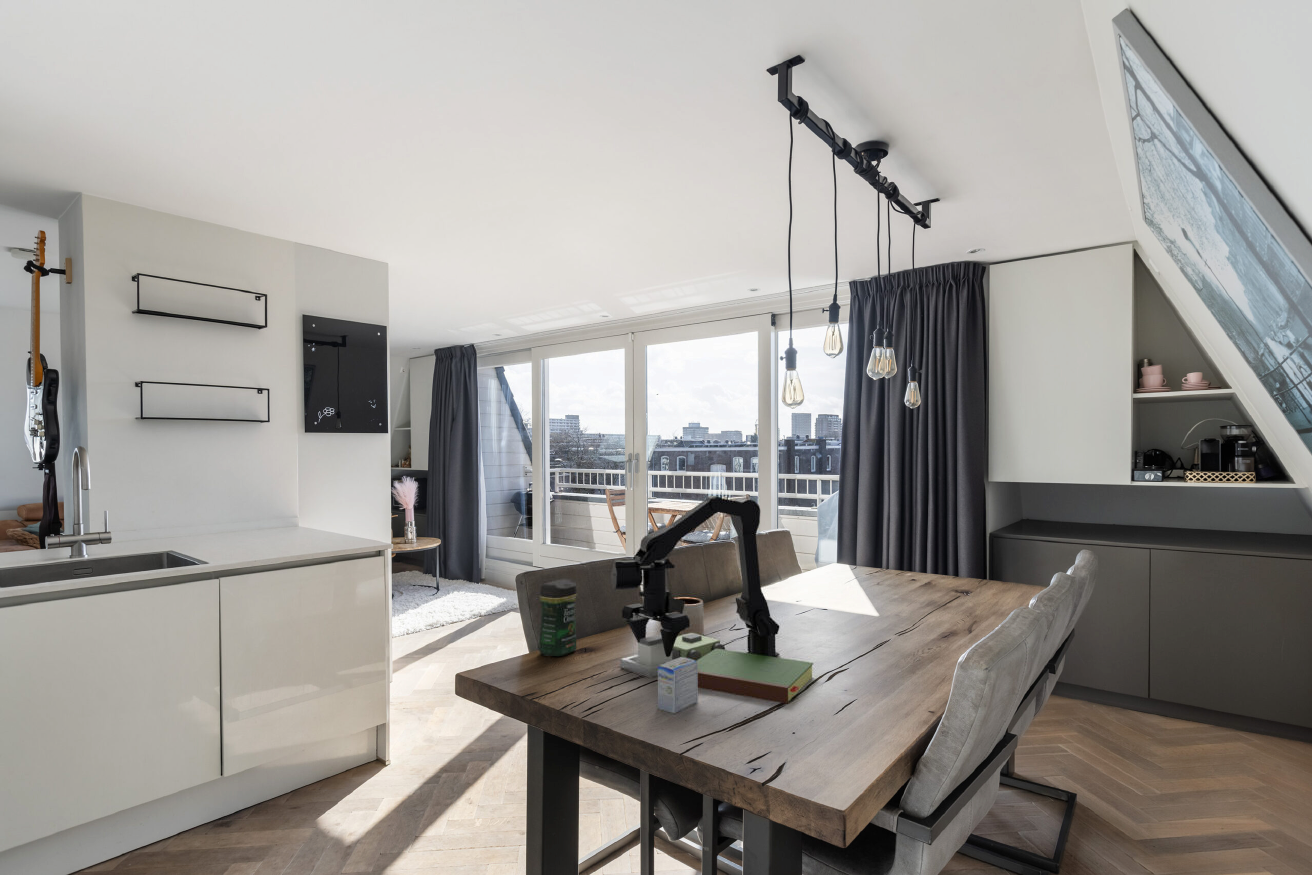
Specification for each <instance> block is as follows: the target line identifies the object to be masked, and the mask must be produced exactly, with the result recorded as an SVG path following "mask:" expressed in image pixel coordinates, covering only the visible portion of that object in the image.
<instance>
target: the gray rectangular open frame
mask: <svg viewBox="0 0 1312 875" xmlns="http://www.w3.org/2000/svg"><path fill="white" fill-rule="evenodd" d="M668 662H669V661H668ZM665 663H667V662H665ZM662 664H664V663H661V664H658V665H654V666H651V667H649V666H646V665H643V664H641V663H638V654H635V655H631V656H628V657H623V658H620V668H621V669H624V670H626V671H629V672H632V673H634V674H637V675H640V676H643V677H646V678H648V679H651V678H654V677H658V666H660V665H662Z"/></svg>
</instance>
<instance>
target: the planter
mask: <svg viewBox="0 0 1312 875" xmlns="http://www.w3.org/2000/svg"><path fill="white" fill-rule="evenodd" d="M674 598H675V599H679V600H682V601H685V605H684V609H683V614H685V615H687V616H688V617H689V618H690V627H688V628H686V629H685V630H683V631H681V632H680V633H679V634H678V636H681V635H682V634H689V633H695V634H698V635H702V636H704V632H705V625H704V623H705V622H704V601H703V599H701V598H698V597H697V598H696V597H689V596H683V597H682V596H681V597H680V596H679V597H674ZM673 613H679V612H673ZM673 613H666V615H669V614H673ZM678 636H677V637H678Z"/></svg>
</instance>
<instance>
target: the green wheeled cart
mask: <svg viewBox="0 0 1312 875" xmlns="http://www.w3.org/2000/svg"><path fill="white" fill-rule="evenodd" d="M715 649H723V650H726V646H725V645H724V644H721V640H720V639H717V638H712V637H709V636H705V635H698V634H695V633H689V634H682V635H681V636H678V637H677V638H676V641H675V644H674V647H673V650H672V660H674V659H677V658H680V657H684V658H688V659H692V660H695V661H697V660H698V659H700V658H702V657H703V656H705V655H706V654H708V653H710V652H711V651H713V650H715Z"/></svg>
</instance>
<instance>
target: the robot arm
mask: <svg viewBox="0 0 1312 875" xmlns="http://www.w3.org/2000/svg"><path fill="white" fill-rule="evenodd" d="M717 513H721V514H724V515H725V514H726V515H728V516H729V515H730V520H731V523H732V525H733V528H734V531H735V532H736V535H737V542H738V552H739V562H740V573H741V583H742V592H741V595H740V597H737V596H736V597H735V602H736V612H735V613H736V614H738V616H739V619H740V620H741V621H742V622H744V624H745V627H746V629H748V630H747V631H748V632H747V633H748V634H747V635H746V636H747V640H746V641H747V652H745V653H750V654H757V655H764V656H770V657H779V656H780V653H779V652H777V651H776V650H777V649H776V635H778V634H779V630H780V625H779V624H778V623H777V622H776V621H775V620H774V619H773V618H772V617H771V613H770V608H769V604H768V602H767V600H766V597H765V595H764V592H763V590H762V584H761V573H760V563H759V552H758V541H757V532H758V529H759V527H760V524H761V523H760V522H761V508H760V505H759V504H758V503H757V502H756V501H755V500H752V499H745V498H736V499H734V500H731V499H728V498H722V497H720V496H715V495H708V496H707V497H706V498H705V499H704V500H703V501H702V502H700V503H699V504H697V505H696V506H694V507H693V508H691V509H690V510H689V511H688V512H686V513H685V514H683V515H682V516H681V517H679V518H678V519H676V520H675V521H673V522H672V523H671V524H669V525H668V526H665V527H663V528H660V529H657V530H654V531H652V532H650V533H648V534H647V535H645V536H643V537H642V538H641V540H640V546H639V547H640V548H639V549H638V550H637V552H636V553H635V555H634V556H633V558H631V560H619V559H618V560H613V566H612V570H611V573H610V580H611V581H610V582H611V587H612V589H613V590H614V591H618V590H619V591H620V590H632V589H633V590H635V589H638V587H639V586H641V585H642V590H641V591H639V593H638V595H639V597H642V603H639V602H638V603H633V604H628V605H627V604H626V605H624V607H623V608H622V609H621V610H622V611H621V612H622V613H621V618H622V619H625V622H626V623H627V624H628V626H629V628H630V630H631V632H632V634H633V635H634V637H635V640H636V642H637V644H638V643H639V642H640V639H642V638H646V637H647V625H648V623H649V622H650V620H651V621H656V622H660V626H661V629H660V630H659V631H660V634H661V637H662V641H663V646H664V651H665V655H666V657H669V656H670V655H671V653H672V650H673V647H674V644H675V641H676V638H677V636H678V634H679V633H680V632H681V631H683V630H685V629H686V628H688V627H690V618H689V617H688V616H687V615H685V614H683V609H684V605H685V601H682V600H679V599H675V598H676V597H672V593H671V591H670V590H668V589H667V570H669V569H675V567H676V566H675V564H673V563H672V561H670V558H668V555H669V554H671V552H672V551H673V550H675V548H676V546H677V545H678V543H679V542H680V541H681V540H682V539H683V538H685V537H686V536H687V535H689V534H690V533H692V532H693V531H694V530H695V529H697V528H698V527H699V526H701V525H702V524H704V523H705V522H706V521H708V520H709V519H710V518H712V517H713V516H715V515H716V514H717ZM673 612H679V613H673ZM666 613H673V614H669V615H666Z"/></svg>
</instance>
